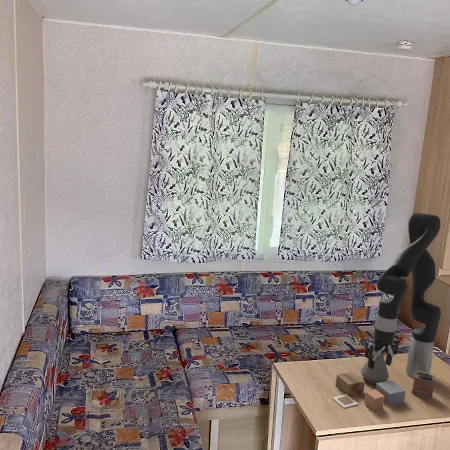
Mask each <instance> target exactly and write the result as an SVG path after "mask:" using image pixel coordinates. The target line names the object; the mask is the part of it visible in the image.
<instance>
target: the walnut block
mask: <svg viewBox="0 0 450 450" xmlns="http://www.w3.org/2000/svg"><path fill="white" fill-rule="evenodd" d="M365 384H366V381H365V379H363V378H361V377H360V376H359V375H358V374H356V373H355V372H353V371H349V372H348V371H347V372H344V373H338V374H336V380H335V386H336V387H337V388H338V389H339V390H341V391H342V392H343V393H344V395H345V394H347V395H348V396H350V395H357V394H361V393H364V392H365Z"/></svg>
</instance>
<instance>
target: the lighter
mask: <svg viewBox="0 0 450 450" xmlns="http://www.w3.org/2000/svg"><path fill="white" fill-rule="evenodd" d="M417 374H418V375H414V378H413V384H412V389H411V394H412V395H415V396H417V397H422V398H427V399H433V394H434V388H435V383H436V379H435V378H433V377H434V374H433V373H430V374H429V373H428V372H422V371H417Z"/></svg>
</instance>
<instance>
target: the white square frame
mask: <svg viewBox="0 0 450 450" xmlns="http://www.w3.org/2000/svg"><path fill="white" fill-rule="evenodd" d="M331 399H333V400H334V401H335V402H336V403H337V404H338V405H340V407H342V408H343V409H347V408H350V407H355V406H358V405H359V403H358V402H357V401H356V400H355V399H353V398H352V397H350V395H347V394H345V393H344V394H342V395H338V396H333V397H332V398H331Z"/></svg>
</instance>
